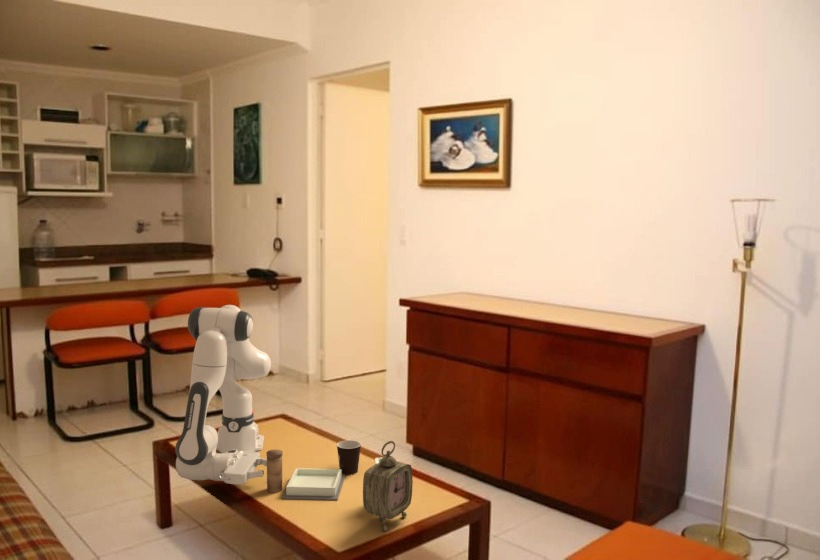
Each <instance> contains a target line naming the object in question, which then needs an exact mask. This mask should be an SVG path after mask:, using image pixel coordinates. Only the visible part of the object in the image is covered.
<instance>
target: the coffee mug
mask: <svg viewBox="0 0 820 560" xmlns="http://www.w3.org/2000/svg"><path fill="white" fill-rule="evenodd" d="M361 446H362V443H361V442H360V441H358V440H352V439H347V440H342V441H338V442H337V443H336V449H337V457H338V467H339V469H342V475H345V476H346V475H348V476H349V475H350V476H351V474H352V475H355V474H357V473H358V471H359V463H360V455H361V454H360V453H361Z"/></svg>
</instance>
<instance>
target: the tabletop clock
mask: <svg viewBox="0 0 820 560" xmlns="http://www.w3.org/2000/svg"><path fill="white" fill-rule="evenodd" d="M390 444H393V446H392V449H391V451H390V450H387V451H386V454H384V450H385V449H386V446H387V445H390ZM395 449H396V443H395V442H394V440H389V441H387V442H385V443H384V444H383V446H382V448H381V455H382V457H383V458H382V457H381V458H382V459H381V461H380V463H377V464H375V463H374V465H372V466H371V467H368V469H366V470H365V471H364V473H363V481H362V504H363V509H364V510H365V511H366V513H368V514H371V515H374V516H377V517H378V520H379V521H382V524H383V525H382V526H381V531H383V532H386V531H387V530H388V526H387V525H386V519H387V520H392V519H394V518H396V517H398V516H400V515H401V517H402V518H406V517H407V515H408V514H407V512H406V510H407V509H408V508H409V507H410V505H411V503H412V497H413V483H414V481H413V468H412V464H408V463H405V462H401V461H397V460H396V458H395V457H394V456H393V455H392V454H393V453H394V451H395Z"/></svg>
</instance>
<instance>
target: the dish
mask: <svg viewBox="0 0 820 560" xmlns="http://www.w3.org/2000/svg"><path fill="white" fill-rule="evenodd" d="M342 475H343V474H342V469H340V468H310V467H308V468H306V467H296V468H295V469H294V472H293V473H292V476H290V479H289V481H288V483H287V485H286V487H285V488H286V489H285V491H286V495H305V496H335V495H336V492H337V489H338V486H339V483H340V480H341V477H342Z"/></svg>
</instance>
